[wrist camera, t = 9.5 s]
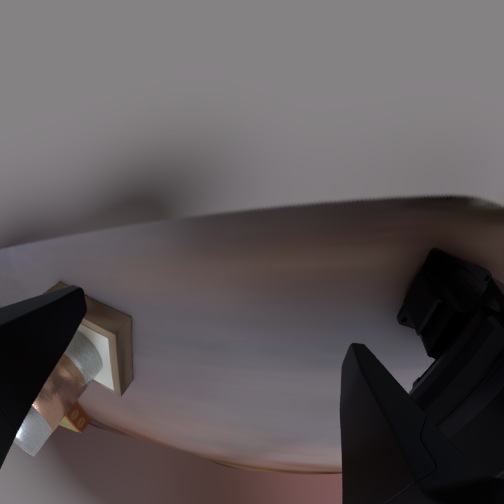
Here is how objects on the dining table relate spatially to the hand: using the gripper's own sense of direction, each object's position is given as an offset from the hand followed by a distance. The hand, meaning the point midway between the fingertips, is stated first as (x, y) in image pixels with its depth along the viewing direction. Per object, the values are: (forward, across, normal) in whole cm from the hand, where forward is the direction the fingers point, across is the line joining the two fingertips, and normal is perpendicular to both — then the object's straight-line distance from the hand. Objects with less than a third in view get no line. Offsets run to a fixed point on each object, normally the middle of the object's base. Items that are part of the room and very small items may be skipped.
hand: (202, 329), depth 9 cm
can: (+10, +17, +16) cm, 25 cm away
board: (+13, +17, +16) cm, 27 cm away
